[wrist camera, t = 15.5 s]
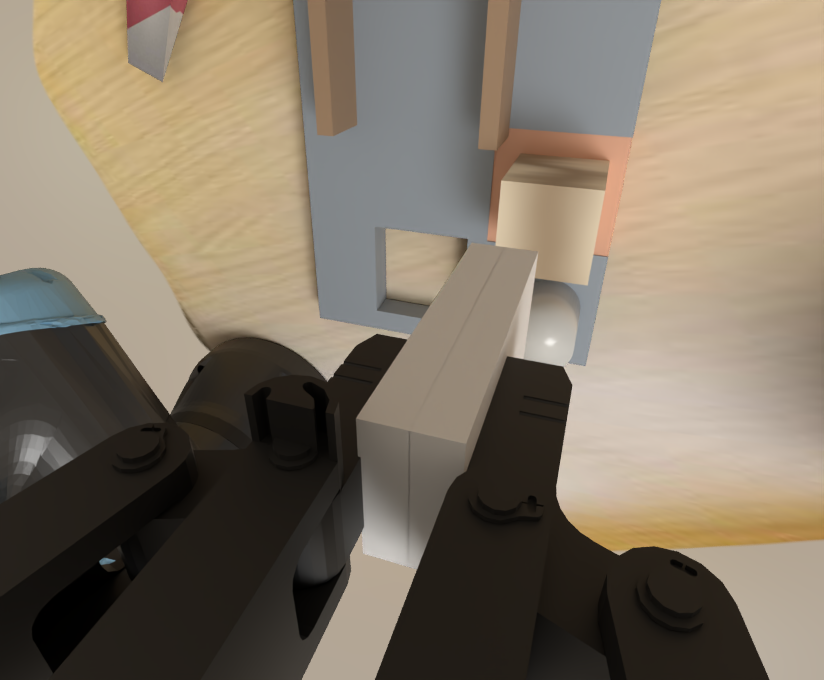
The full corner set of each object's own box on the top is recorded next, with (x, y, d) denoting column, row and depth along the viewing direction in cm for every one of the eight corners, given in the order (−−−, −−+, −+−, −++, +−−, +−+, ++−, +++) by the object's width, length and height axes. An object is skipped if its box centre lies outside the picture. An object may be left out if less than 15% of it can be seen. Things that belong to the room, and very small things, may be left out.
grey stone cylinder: (515, 328, 39) (501, 366, 35) (522, 275, 37) (508, 309, 33) (575, 338, 38) (568, 379, 34) (585, 284, 36) (579, 321, 32)
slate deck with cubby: (331, 306, 46) (298, 340, 41) (296, -172, 30) (238, -200, 26) (587, 351, 40) (581, 395, 36) (700, -201, 25) (715, -243, 21)
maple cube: (512, 234, 36) (492, 272, 31) (520, 153, 33) (501, 180, 28) (594, 244, 34) (587, 285, 30) (609, 160, 32) (605, 190, 27)
